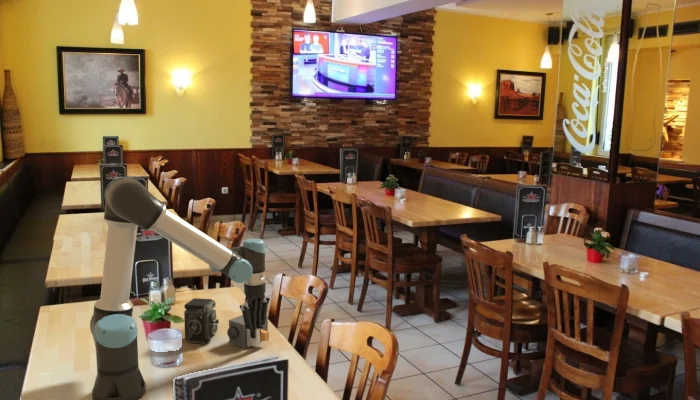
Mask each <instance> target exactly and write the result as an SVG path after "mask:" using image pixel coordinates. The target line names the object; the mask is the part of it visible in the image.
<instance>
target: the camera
mask: <svg viewBox="0 0 700 400" xmlns="http://www.w3.org/2000/svg"><path fill="white" fill-rule="evenodd" d="M183 307H184V309H185V310H184V312H183V316H184V317H183V319H184V322H183V323H184V340H185V342H188V343H195V344H197V343H198V344H206V343H207V342H208V341H210V340H211V339H212V338H214V337H215V336H216V335H217V333H218V329H219V327H218V326H219V325H218V324H219V322H220V321H219V319H217V314H216V312H217V310H216V309H214V308H216V301H215V300H214V299H212V298H194V297H193V298H192V299H191V300H190V301H187V303H185V304H184V306H183Z"/></svg>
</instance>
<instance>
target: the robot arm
mask: <svg viewBox="0 0 700 400" xmlns="http://www.w3.org/2000/svg"><path fill="white" fill-rule="evenodd" d="M103 196H104V200H105V205H104V216H103V221H105V222H106V223H107V225H108V227H107V232H106V233H107V236H106V241H105V243H106V245H105V251H104V252H105V253H104V263H103V270H102V280H101V288H100V289H101V290H100V298H99V299H98V300H96V301H95V302H94V305H93V314H92V316H91V319H90V323H89V329H90V333H91V335H92V337H93V342H94V346H95V354H96V356H95V357H96V376H95V380H94V383H93V388H92V391H91V392H92V393H91V397H92V398H91V399H92V400H140V399H141V398H142V397H143V396H144V395H145V394H146V390H147V388H146V381H145V378H144V377H143V376H144V375H143V374H142V372H141V370H140V367H139V366H140V365H139V348H138V347H139V346H138V345H139V343H138V332H139V331H138V326H137V322H136V320H135V318H134V317H133V311H134V304H133V302H132V301H131V300H130V293H131V285H132V279H133V277H132V276H133V269H134V268H133V267H134V262H135V261H134V259H135V251H136V242H137V233H138V227H139V228H141V229H143V230H145V231H147V232H148V231H153V232H155V233H156V234H158V235H159V236H161V237H163V238H164V239H166V240H168V241H170V242H171V243H173V244H174V245H176V246H178V247H179V248H180V249H182V250H184V251H186V252H188V254H191V255H193V256H194V257H196V258H197V259H199V260H200V261H203V262H204V263H205V264H207V265H208V267H209V269H210V271H211V272H220V273H221V274H223V275H225V276H227V277H228V278H230V279H231V281H233V282H236V283H238V284H243V293H244V295H245V297H244V298H245V299H244V303H243V304H240V305H239V309H240V310H241V313H242V314H241V315H243V318H244V323H245V327H246V329H249V330H250V337H251V339H252V346H251V347H254V348H258V347H259V348H260V346H261V342H260V335H261V329H262V328H263V326H262V325H264V324H265V320H266V315H267V313H268V307H269V303H270V302H271V298H270V297H268V296H265V293H266V291H267V290H266V246H265V241H264V240H263V239H261V238H248V239H247V238H246V239H245V240H243V244H242V245H241V246H236V247H234V246H233V247H226V246H225V245H224V244H222V243H220V242H219V241H217V240H216V239H214V238H212V237H211V236H210V235H208V234H206V233H205V232H204V231H202V230H200V229H199V228H197V227H196V226H194V225H192V224H190V223H189V222H188V221H186V220H184V219H183V218H182V217H180V216H179V215H177V214H176V213H174V212H172V211H171V210H169V209H167V206H166V204H165V203H164V202H162V201H161V200H160V199H158V198H157V197H156V196H155V195H154V194H152V193H151V191H149V190H148V188H146V186H144V185H143V184H142V183H141V182H140V181H139V180H138V179H136V178H134V177H129V176H121V177H116V178H114V179H113V180H112V181H110V182H109V183H108V184H107V186H106V188H105V190H104V195H103Z"/></svg>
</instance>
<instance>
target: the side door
mask: <svg viewBox="0 0 700 400" xmlns="http://www.w3.org/2000/svg"><path fill="white" fill-rule="evenodd" d="M261 340H263V341H261ZM269 340H270V332H269V330H268V331H265V330H262V329H261V335H260V343H261V342H267V341H269ZM247 346H248V347H247V348H249V346H250V347H253V346H252V339H251V337H250V330H249V329H247Z"/></svg>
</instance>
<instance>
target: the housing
mask: <svg viewBox="0 0 700 400" xmlns="http://www.w3.org/2000/svg"><path fill="white" fill-rule="evenodd" d="M268 319H269V317H268V315H267V314H266V320H265V324H264V325H262V326H263V328H262V330H265V331H268V332H269V325H268V324H269V320H268ZM226 333H227V336H228V340H229V341H228V342H229V344H231V345H233V346H236V347H238V348H242V349H244V350H245V349H247V348H249V347H251V346H249V347H248V346H247V329H246V327H245V323H244V318H243V314H241V315H239V316H236V317H233V318H231V319H228V328H227V332H226ZM261 342H264V341H263V340H261Z"/></svg>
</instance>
